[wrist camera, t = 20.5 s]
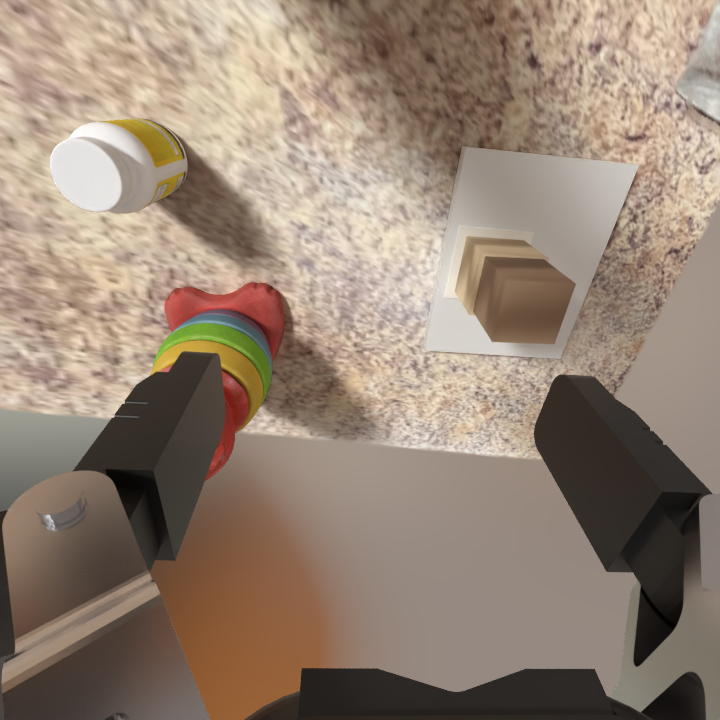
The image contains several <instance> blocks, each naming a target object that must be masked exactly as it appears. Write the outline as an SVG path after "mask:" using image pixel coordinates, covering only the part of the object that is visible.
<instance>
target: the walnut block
mask: <svg viewBox="0 0 720 720" xmlns="http://www.w3.org/2000/svg"><path fill="white" fill-rule="evenodd" d="M575 285H576V283H574V282H573V281H572V280H570V279H569V278H568V277H567V276H565V275H564V274H563V273H561V272H560V271H559V270H557V269H556V268H555V267H554V266H552V265H551V264H550V263H548V262H547V261H546V260H544V259H530V258H510V257H490V256H485V260H484V264H483V269H482V273H481V277H480V282H479V286H478V291H477V295H476V300H475V304H474V309H473V312H474V314H475V316H476V317H477V319H478V320H479V322H480V324H481V325H482V327H483V328H484V330H485V332H486V333H487V335H488V336H489V338H490V340H491V341H492V342H506V343H532V344H555V342H556V339H557V336H558V333H559V330H560V328H561V325H562V322H563V319H564V316H565V314H566V311H567V308H568V305H569V302H570V299H571V297H572V294H573V291H574V288H575Z"/></svg>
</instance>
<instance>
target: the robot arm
mask: <svg viewBox="0 0 720 720" xmlns="http://www.w3.org/2000/svg"><path fill="white" fill-rule="evenodd" d="M224 423H225V398H224V388H223V378H222V368H221V360H220V356H219V354H218V353H208V352H191V351H183V352H181V354H180V355H179V357H178V358H177V360H176V361H175V363H174V364H173V366H172V367H171V369H170V370H169V372H155V373H154V374H152V375H151V376H149V377H148V378H146V379H145V380H143V381H142V382H140V383H138V384H137V385H136V386H135V388H134V389H133V390H132V392H131V393H130V394H129V396H128V397H127V399H126V400H125V404H122V405H121V407H120V408H119V409H118V411H117V412H116V413H115V417H114V418H112V419H111V420H110V422H109V423H108V424H107V426H106V427H105V428H104V430H103V431H102V432H101V434H100V435H99V436H98V438H97V439H96V440H95V442H94V443H93V444H92V446H91V447H90V448H89V450H88V451H87V453H86V454H85V455H84V457H83V458H82V459H81V461H80V462H79V463H78V465H77V466H76V467H75V469H74V470H73V471H72V472H68V473H64V474H60V475H57V476H54V477H51V478H49V479H47V480H44V481H43V482H41V483H39V484H37V485H35V486H34V487H32V488H31V489H29V490H28V491H26V492H25V493H24V494H23V495H21V496H20V497H19V498H18V499H17V500H16V501H15V502H14V503H13V504H12V506H11V507H10V508H9V509H8V510H6V511H2V512H0V657H3V656H6V655H10V654H13V653H15V655H13V656H12V657H10V658H8V659H7V660H6V661H5V663H4V665H3V670H2V696H3V708H4V720H210V718H209V716H208V713H207V710H206V708H205V706H204V703H203V700H202V698H201V695H200V693H199V690H198V688H197V686H196V683H195V680H194V678H193V675H192V673H191V670H190V668H189V665H188V663H187V660H186V658H185V655H184V653H183V651H182V648H181V645H180V642H179V640H178V637H177V635H176V632H175V630H174V627H173V625H172V623H171V620H170V617H169V615H168V612H167V610H166V607H165V605H164V602H163V600H162V597H161V595H160V592H159V590H158V588H157V585H156V583H155V581H154V580H152V578H151V576H150V571H151V568H152V566H153V564H154V561H155V560H173V561H174V560H176V557H177V554H178V552H179V549H180V546H181V544H182V541H183V538H184V535H185V533H186V530H187V527H188V525H189V522H190V519H191V517H192V514H193V511H194V508H195V506H196V503H197V500H198V498H199V495H200V492H201V490H202V487H203V484H204V481H205V479H206V476H207V473H208V471H209V468H210V465H211V463H212V460H213V457H214V454H215V452H216V449H217V446H218V444H219V441H220V438H221V436H222V433H223V429H224ZM534 438H535V444H536V447H537V449H538V451H539V453H540V454H541V456H542V458H543V460H544V462H545V463H546V465H547V467H548V468H549V470H550V472H551V474H552V475H553V477H554V479H555V481H556V483H557V485H558V486H559V488H560V490H561V491H562V493H563V495H564V497H565V499H566V501H567V502H568V504H569V506H570V507H571V509H572V511H573V513H574V515H575V516H576V518H577V520H578V522H579V523H580V525H581V527H582V529H583V530H584V532H585V534H586V536H587V538H588V539H589V541H590V543H591V545H592V547H593V548H594V550H595V552H596V554H597V555H598V557H599V559H600V561H601V562H602V564H603V566H604V568H605V570H606V571H607V572H633V573H634V575H635V576H636V578H637V579H638V581H637V582H636V583H635V585H634V586H633V587H632V589H631V593H630V600H629V608H628V616H627V624H626V632H625V640H624V648H623V655H622V664H621V671H620V676H619V679H618V682H617V685H616V687H615V690H614V691H613V693H612V695H611V697H608V696H606V694H605V691H604V689H603V687H602V685H601V683H600V680H599V678H598V676H597V673H596V671H595V669H524V670H521V671H519V672H516V673H513V674H510V675H508V676H505V677H502V678H499V679H497V680H494V681H491V682H488V683H485V684H482V685H480V686H477V687H474V688H471V689H468V690H466V691H462V692H451V691H447V690H444V689H441V688H437V687H434V686H431V685H428V684H424V683H421V682H418V681H415V680H412V679H409V678H405V677H402V676H399V675H396V674H393V673H389V672H386V671H383V670H380V669H329V668H326V669H322V668H320V669H319V668H302V674H301V686H300V691H299V692H296V693H293V694H290V695H287V696H284V697H282V698H280V699H278V700H276V701H274V702H272V703H270V704H268V705H266V706H264V707H262V708H261V709H259V710H258V711H256V712H255V713H253V714H252V715H250V716H249V717H247V718H246V719H245V720H720V494H712V493H711V492H710V491H709V489H708V488H707V487H706V486H705V485H704V484H703V483H702V482H701V481H700V480H699V479H698V478H697V477H696V476H695V475H694V474H693V473H692V472H691V471H690V469H689V468H687V466H686V465H685V464H684V463H683V462H682V461H681V460H680V459H679V458H678V457H677V456H676V455H675V454H674V453H673V452H672V451H671V449H670V448H669V447H668V446H667V445H663V441H662V440H661V439H660V438H659V437H658V436H657V435H656V434H655V433H654V432H653V431H650V427H649V426H648V425H647V424H646V423H645V422H644V421H643V420H642V419H641V418H640V417H639V416H638V415H637V414H636V413H635V412H634V411H632V410H631V409H630V408H628V407H627V406H625V405H623V404H622V403H621V402H619V401H618V400H616V399H615V398H614V397H613V396H612V395H611V394H610V393H609V392H608V391H607V390H606V388H605V387H604V386H603V385H602V384H601V383H600V382H599V381H598V380H597V379H596V378H594V377H592V376H578V375H558V376H557V377H556V378H555V379H554V381H553V383H552V385H551V387H550V390H549V392H548V395H547V397H546V399H545V402H544V404H543V407H542V409H541V412H540V414H539V417H538V419H537V422H536V424H535V430H534Z"/></svg>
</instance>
